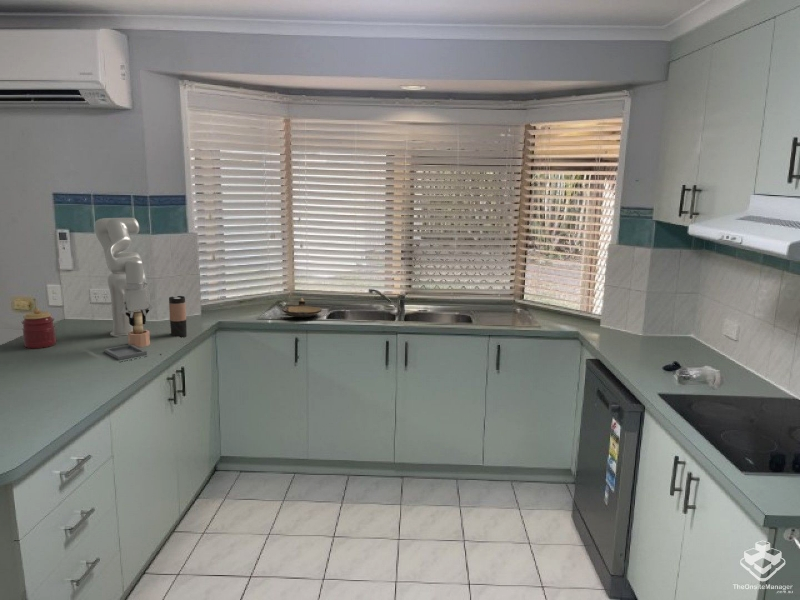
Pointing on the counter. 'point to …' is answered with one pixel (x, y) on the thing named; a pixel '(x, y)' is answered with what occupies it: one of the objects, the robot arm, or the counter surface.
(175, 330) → the travel mug
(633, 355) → the counter surface
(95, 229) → the robot arm
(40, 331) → the canister
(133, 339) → the cup
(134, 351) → the tray
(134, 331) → the peg
